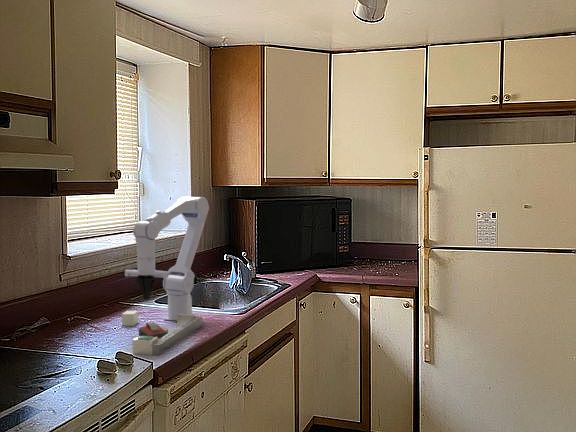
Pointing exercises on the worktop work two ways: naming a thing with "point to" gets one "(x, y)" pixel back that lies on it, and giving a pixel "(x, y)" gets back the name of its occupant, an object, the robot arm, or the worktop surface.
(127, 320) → the module
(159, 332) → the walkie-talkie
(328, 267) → the worktop surface
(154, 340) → the off-white long bar
